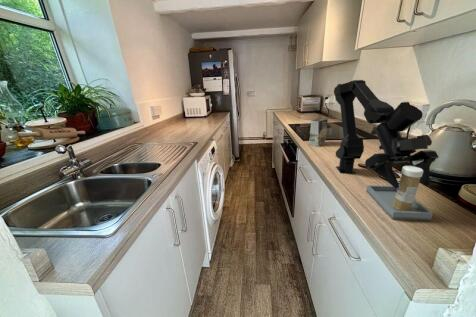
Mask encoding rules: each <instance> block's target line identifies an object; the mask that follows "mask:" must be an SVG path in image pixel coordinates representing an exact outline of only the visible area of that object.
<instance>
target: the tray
mask: <svg viewBox="0 0 476 317" xmlns="http://www.w3.org/2000/svg"><path fill="white" fill-rule="evenodd" d="M397 189H398V188H394V187H393V186H392V185H366V190H365V192H366V193H367V194H368V196H370V197H371V199H372V200H374V202H375V203H376V204H377V205H378V206H379V208H380V209H381V210H383V211H384V212H385V213H386V215H387V216H388V217H389V218H390V219H391V220H403V221H406V220H407V221H421V222H422V221H426V222H431V220H432V218H433V216H434V213H433V212H432V211H430V210H429V209H428V208H426V206H424V205H423V204H421V203H420V202H419V201H417V200H416V199H414V202H413V204H412V207H411V211H399V210H397V209H395V208H394V207H393V203H394V200H395V195H396V192H397Z"/></svg>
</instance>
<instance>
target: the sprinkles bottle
mask: <svg viewBox="0 0 476 317" xmlns="http://www.w3.org/2000/svg"><path fill="white" fill-rule="evenodd" d="M400 174H401V175H400V179H399V181H398V185H399V188H398V189H397V192H396V195H395V200H394V203H393V207H394V208H395V209H397V210H399V211H411V207H412V204H413V202H414V199H415V198H416V195H417V191H418V188H419V185H420V182H421V180H420V178H421V177H422V175H423V170H422V169H421V168H419V167H415V166H412V165H404V166H402V168H401V173H400ZM415 200H416V199H415Z"/></svg>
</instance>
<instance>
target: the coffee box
mask: <svg viewBox="0 0 476 317" xmlns="http://www.w3.org/2000/svg"><path fill="white" fill-rule="evenodd" d="M327 127H328V119H325V118H316V119H311V120H310V130H309V141H308V145H310V146H313V147H320V146H322V145H324V144H325V143H326V136H327V129H328V128H327Z"/></svg>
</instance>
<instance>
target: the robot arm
mask: <svg viewBox="0 0 476 317" xmlns="http://www.w3.org/2000/svg"><path fill="white" fill-rule="evenodd" d="M333 94H334V98H335V99H334V100H335V101H336V102H337V103H338V104H339V106H340V113H341V114H340V115H341V116H340V117H341V124H342V134H343V138H342V140H341V141H340V144H339V148H338V149H337V150H335V157H337V158H338V159H339V165H337V166H335V168H336V169H337V170H338V171H339V173H340V174H357V171H356V170H355V169H354V165H355V160H359V159H361V158H362V155H363V153H364V151H365V149H364V148H365V144H364V139H363V137H359V136H358V133H357V124H356V116H355V107H354V101H355V99H357V100H358V102H359V104H360V105H361V106H362V107H363V109H364V111H363V116H364V118H365V120H366V123H368V124H370V125H372V124H378V125H377V126H373V128H372V130H371V132H370V134H371V136H373V135H376V136H377V138H378V141H379V143H380V145H379V146H378V149H379V151H380V150H382V151H383V152H381V153H374V154H372V155H371V156H369V157H368V158H367V159H366V160H365V162H364V165H365V168H366V169H368V170H371V172H375V173H376V174H377V175H379V176H380V177H381V178H383V179H384V180H385V181H386V182H387V183H388V184H390V186H393V187H394V188H399V181H398V179H397V177H396V175H395V172H394V170H393V166H394V164H395V163H408V164H409V165H410V166H415V167H419V168H421V169H422V170H423V175H422V177H421V178H420V182H421V183H422V184H423V185H424V186H425V187H428V186H430V184H431V180H430V179H431V178H430V175H431V174H430V167H431V164H433V162H435V161H436V160H437V159H439V158H440V156H439V155H438V153H437V151H436V150H432V149H429V147H428V146H432V142H433V141H432V138H431V137H430V136H429V134H421V135H417V136H416V137H411V138H408V137H405V136H402V134H401V132H404V131H406V130H408V129H409V128H411V127H412V126H413V125H414V124H416V123H417V122H419V121H420V120H422V118H423V112H422V110H421V109H420V108H418V107H416V106H415V105H412V104H410V101H403V102H400V103H399V104H398V105H397V107H396V108H394V107H393V106H392V105H391V104H390V103H388V102H386V101H383V100H381V99H379V98H378V97H377V96H376V95H375V93H374V92H373V91H372V90H371V88H370V87H369V86H368V85H367V84H366V81H365V80H364V79H355V80H350V81H348V82H345V83H338V84H337V85H336V86H335V87H334V89H333ZM422 149H423V150H422ZM417 150H420V151H418V152H417ZM415 152H416V153H415Z"/></svg>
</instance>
